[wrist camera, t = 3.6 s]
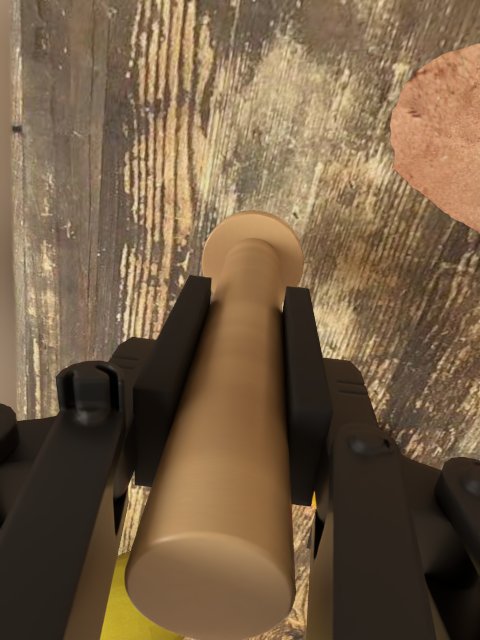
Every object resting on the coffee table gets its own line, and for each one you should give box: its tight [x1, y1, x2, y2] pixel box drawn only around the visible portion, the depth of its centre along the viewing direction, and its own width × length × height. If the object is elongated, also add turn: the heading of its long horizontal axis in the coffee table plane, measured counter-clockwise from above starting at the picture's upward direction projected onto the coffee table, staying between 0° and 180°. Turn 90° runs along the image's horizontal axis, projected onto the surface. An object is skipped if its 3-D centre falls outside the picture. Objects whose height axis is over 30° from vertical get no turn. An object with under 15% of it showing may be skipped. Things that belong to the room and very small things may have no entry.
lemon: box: [100, 551, 185, 640], centre depth 34 cm, size 11×8×8 cm
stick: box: [124, 210, 304, 640], centre depth 14 cm, size 5×5×16 cm
